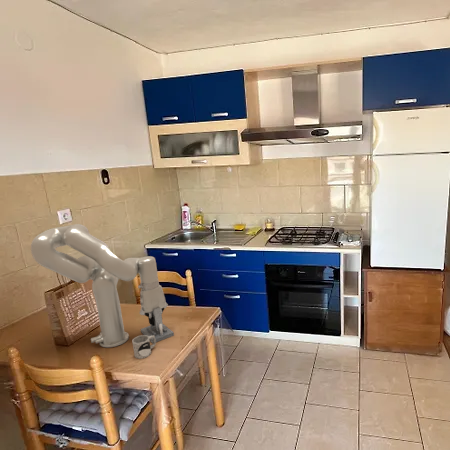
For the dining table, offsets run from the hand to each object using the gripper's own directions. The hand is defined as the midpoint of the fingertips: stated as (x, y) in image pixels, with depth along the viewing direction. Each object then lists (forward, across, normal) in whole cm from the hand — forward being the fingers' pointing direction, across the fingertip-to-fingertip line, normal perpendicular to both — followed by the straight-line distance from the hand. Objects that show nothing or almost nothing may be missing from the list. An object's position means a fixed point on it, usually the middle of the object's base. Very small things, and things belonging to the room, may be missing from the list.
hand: (156, 323), depth 163 cm
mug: (+5, -10, -12) cm, 16 cm away
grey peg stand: (+5, 0, 0) cm, 5 cm away
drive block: (+2, 0, 0) cm, 2 cm away
